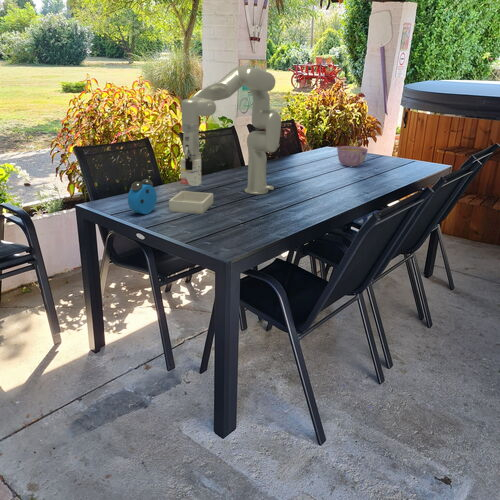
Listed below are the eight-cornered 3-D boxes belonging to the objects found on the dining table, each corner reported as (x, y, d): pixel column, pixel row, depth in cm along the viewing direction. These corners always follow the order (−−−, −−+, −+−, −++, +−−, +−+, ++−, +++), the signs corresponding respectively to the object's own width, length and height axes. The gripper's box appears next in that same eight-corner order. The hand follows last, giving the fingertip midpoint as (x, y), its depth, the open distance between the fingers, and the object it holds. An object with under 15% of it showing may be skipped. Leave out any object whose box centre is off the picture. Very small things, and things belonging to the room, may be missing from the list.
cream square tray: (213, 203, 242) (213, 193, 240) (202, 214, 225) (202, 203, 224) (181, 200, 245) (181, 190, 243) (169, 211, 228) (168, 200, 226)
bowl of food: (368, 169, 323) (370, 151, 319) (337, 168, 323) (339, 151, 319) (362, 163, 342) (364, 146, 338) (333, 162, 342) (335, 145, 338)
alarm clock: (147, 208, 231) (146, 176, 226) (158, 210, 228) (156, 178, 223) (128, 215, 221) (126, 182, 215) (139, 218, 218) (137, 184, 212)
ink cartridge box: (180, 184, 230) (179, 152, 225) (185, 182, 234) (184, 150, 229) (197, 186, 227) (196, 154, 222) (201, 183, 232) (201, 152, 226)
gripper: (192, 131, 213) (193, 173, 220) (204, 126, 229) (204, 165, 235) (175, 130, 214) (176, 171, 221) (188, 125, 230) (189, 164, 237)
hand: (191, 168), depth 228 cm, fingers closed on ink cartridge box, 5 cm apart
